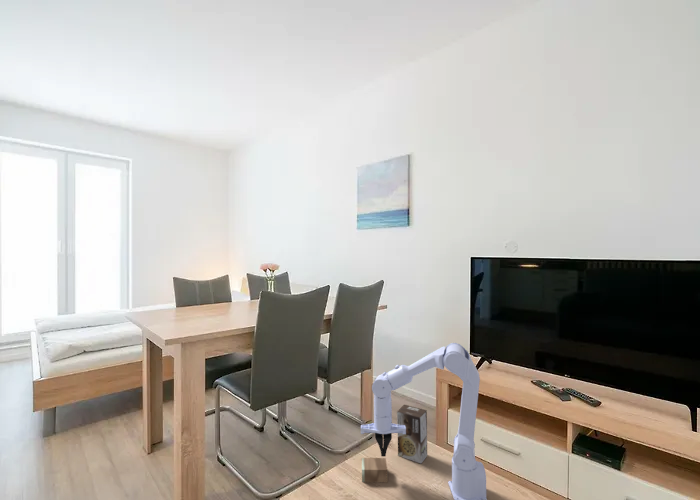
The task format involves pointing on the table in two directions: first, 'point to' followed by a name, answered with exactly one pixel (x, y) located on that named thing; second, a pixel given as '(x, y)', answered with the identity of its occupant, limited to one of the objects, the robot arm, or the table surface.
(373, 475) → the wooden block
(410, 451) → the coffee box
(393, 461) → the table surface
